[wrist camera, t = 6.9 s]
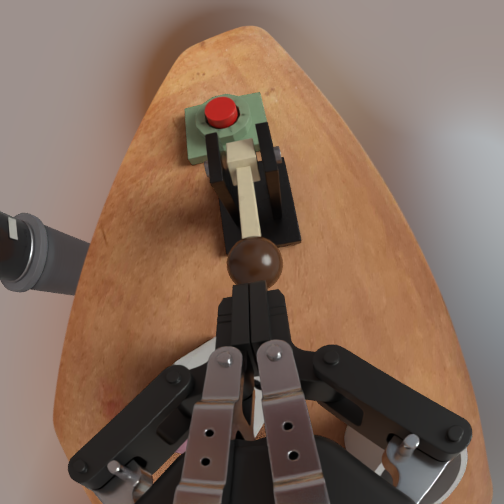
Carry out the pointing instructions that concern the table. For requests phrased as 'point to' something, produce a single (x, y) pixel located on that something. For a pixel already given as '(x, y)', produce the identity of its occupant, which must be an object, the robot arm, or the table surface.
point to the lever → (250, 222)
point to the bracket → (266, 191)
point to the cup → (373, 460)
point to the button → (221, 112)
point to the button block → (241, 129)
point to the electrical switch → (202, 356)
